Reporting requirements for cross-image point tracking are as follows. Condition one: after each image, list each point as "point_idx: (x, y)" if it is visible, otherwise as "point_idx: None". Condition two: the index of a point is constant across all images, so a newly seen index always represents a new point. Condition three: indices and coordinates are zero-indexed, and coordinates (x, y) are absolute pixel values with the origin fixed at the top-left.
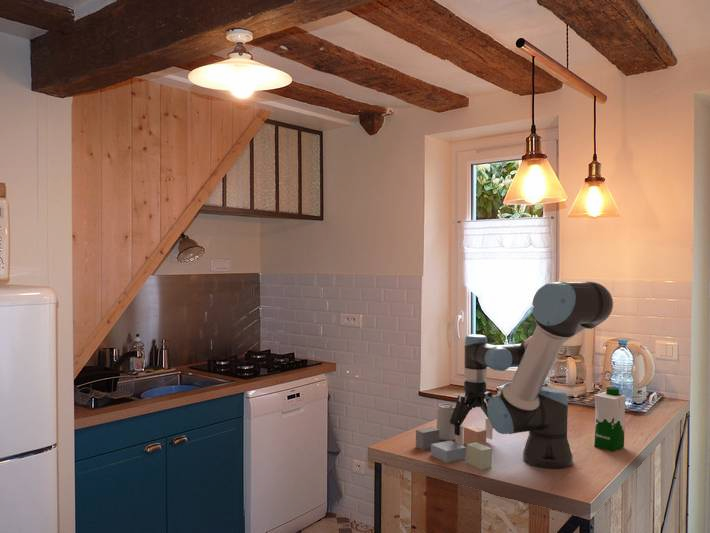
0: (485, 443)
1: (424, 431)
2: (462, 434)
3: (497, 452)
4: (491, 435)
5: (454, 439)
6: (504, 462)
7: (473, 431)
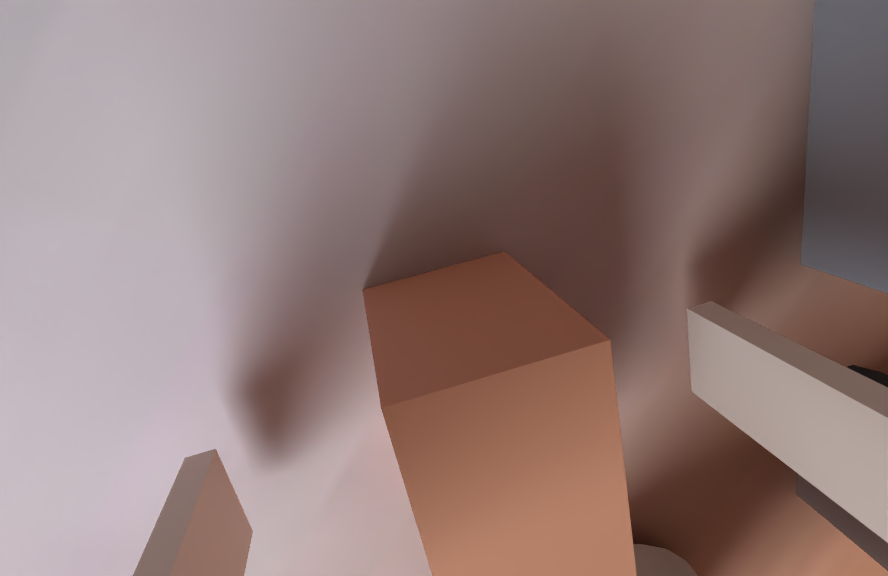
0: (378, 306)
1: None
2: (803, 366)
3: (308, 61)
4: (189, 486)
5: None
6: None
7: (611, 426)
